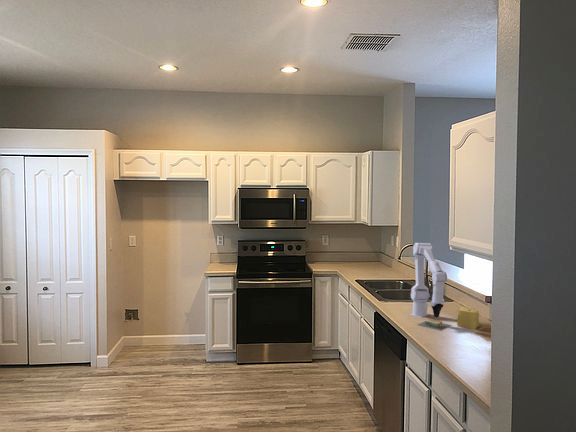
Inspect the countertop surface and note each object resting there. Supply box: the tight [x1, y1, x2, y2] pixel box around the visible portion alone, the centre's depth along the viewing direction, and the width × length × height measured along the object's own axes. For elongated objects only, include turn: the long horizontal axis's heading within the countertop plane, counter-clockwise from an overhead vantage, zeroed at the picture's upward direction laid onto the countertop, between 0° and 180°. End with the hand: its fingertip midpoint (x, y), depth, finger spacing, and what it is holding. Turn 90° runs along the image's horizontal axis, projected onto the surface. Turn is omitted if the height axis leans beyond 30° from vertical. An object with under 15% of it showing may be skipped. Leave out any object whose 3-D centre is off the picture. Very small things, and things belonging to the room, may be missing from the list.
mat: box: [417, 321, 453, 332], centre depth 267 cm, size 16×14×1 cm
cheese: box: [456, 305, 480, 330], centre depth 269 cm, size 10×11×10 cm
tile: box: [424, 318, 443, 328], centre depth 265 cm, size 2×7×7 cm
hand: (436, 316), depth 268 cm, fingers closed
